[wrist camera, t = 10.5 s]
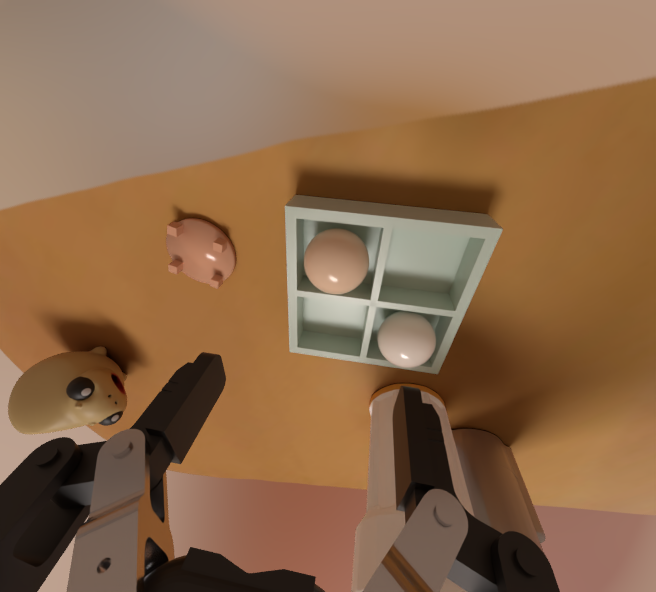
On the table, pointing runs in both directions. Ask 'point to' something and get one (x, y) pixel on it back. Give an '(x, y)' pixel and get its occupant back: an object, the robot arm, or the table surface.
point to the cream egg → (406, 339)
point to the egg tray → (385, 275)
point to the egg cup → (200, 251)
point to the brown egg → (336, 261)
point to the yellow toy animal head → (68, 393)
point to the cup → (381, 493)
